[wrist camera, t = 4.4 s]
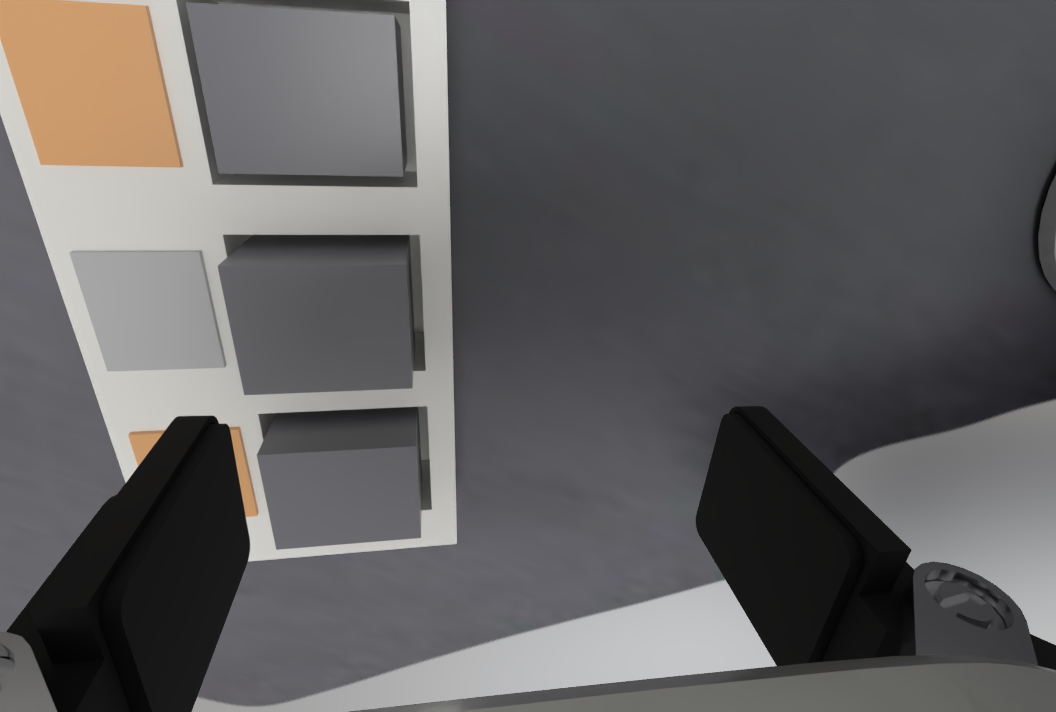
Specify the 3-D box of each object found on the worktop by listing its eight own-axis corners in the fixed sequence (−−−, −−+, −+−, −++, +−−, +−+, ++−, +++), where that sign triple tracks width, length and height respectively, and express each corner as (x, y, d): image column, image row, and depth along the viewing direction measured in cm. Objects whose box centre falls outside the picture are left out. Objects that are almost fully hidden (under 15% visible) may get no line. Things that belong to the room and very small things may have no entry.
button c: (417, 394, 23) (416, 446, 20) (421, 478, 25) (421, 537, 21) (281, 400, 22) (256, 455, 19) (297, 486, 24) (276, 549, 21)
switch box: (440, -51, 19) (444, -88, 15) (452, 478, 28) (457, 547, 24) (37, -84, 17) (-91, -137, 13) (196, 495, 26) (152, 573, 22)
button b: (409, 235, 20) (405, 264, 17) (415, 343, 22) (412, 388, 19) (252, 234, 19) (217, 266, 16) (272, 346, 21) (244, 395, 18)
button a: (400, 26, 18) (394, 14, 15) (407, 161, 20) (403, 176, 17) (229, 16, 18) (185, 2, 14) (253, 158, 19) (218, 173, 16)
